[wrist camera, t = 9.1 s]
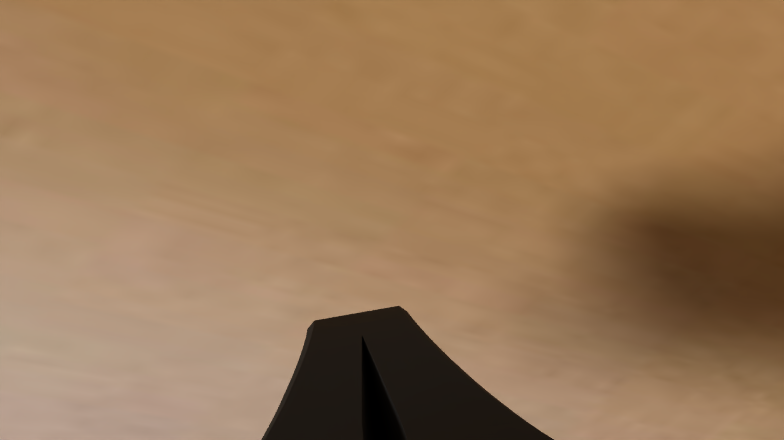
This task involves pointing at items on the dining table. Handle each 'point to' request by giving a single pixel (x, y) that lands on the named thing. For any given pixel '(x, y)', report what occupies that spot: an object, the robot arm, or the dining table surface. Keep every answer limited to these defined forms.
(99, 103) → the dining table surface
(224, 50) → the dining table surface
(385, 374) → the robot arm
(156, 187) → the dining table surface
